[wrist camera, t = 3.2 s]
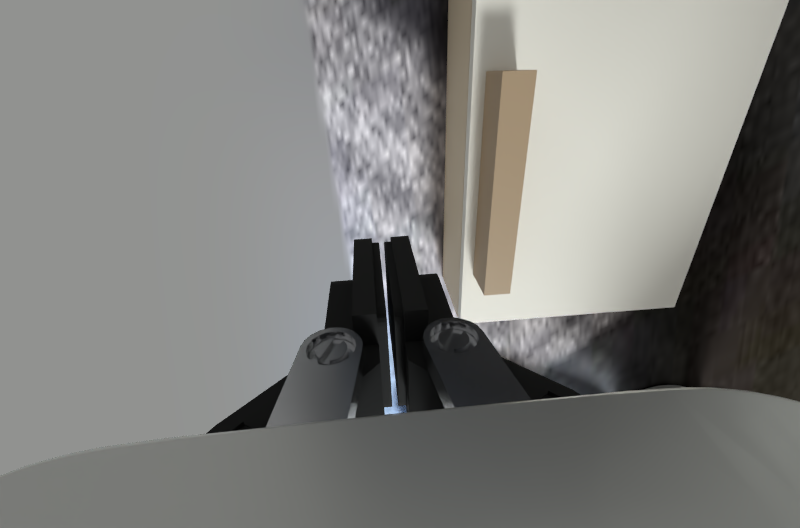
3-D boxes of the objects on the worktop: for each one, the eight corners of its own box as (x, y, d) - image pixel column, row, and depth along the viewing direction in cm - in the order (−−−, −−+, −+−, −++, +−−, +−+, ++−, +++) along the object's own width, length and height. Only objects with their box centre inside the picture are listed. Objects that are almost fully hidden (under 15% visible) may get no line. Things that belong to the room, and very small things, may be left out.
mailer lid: (785, -31, 19) (865, -50, 16) (666, 301, 28) (702, 328, 25) (473, -22, 18) (494, -41, 15) (457, 317, 27) (469, 348, 24)
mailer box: (691, -8, 24) (783, -31, 19) (618, 263, 33) (665, 300, 28) (448, -1, 23) (472, -22, 18) (442, 276, 33) (457, 316, 27)
